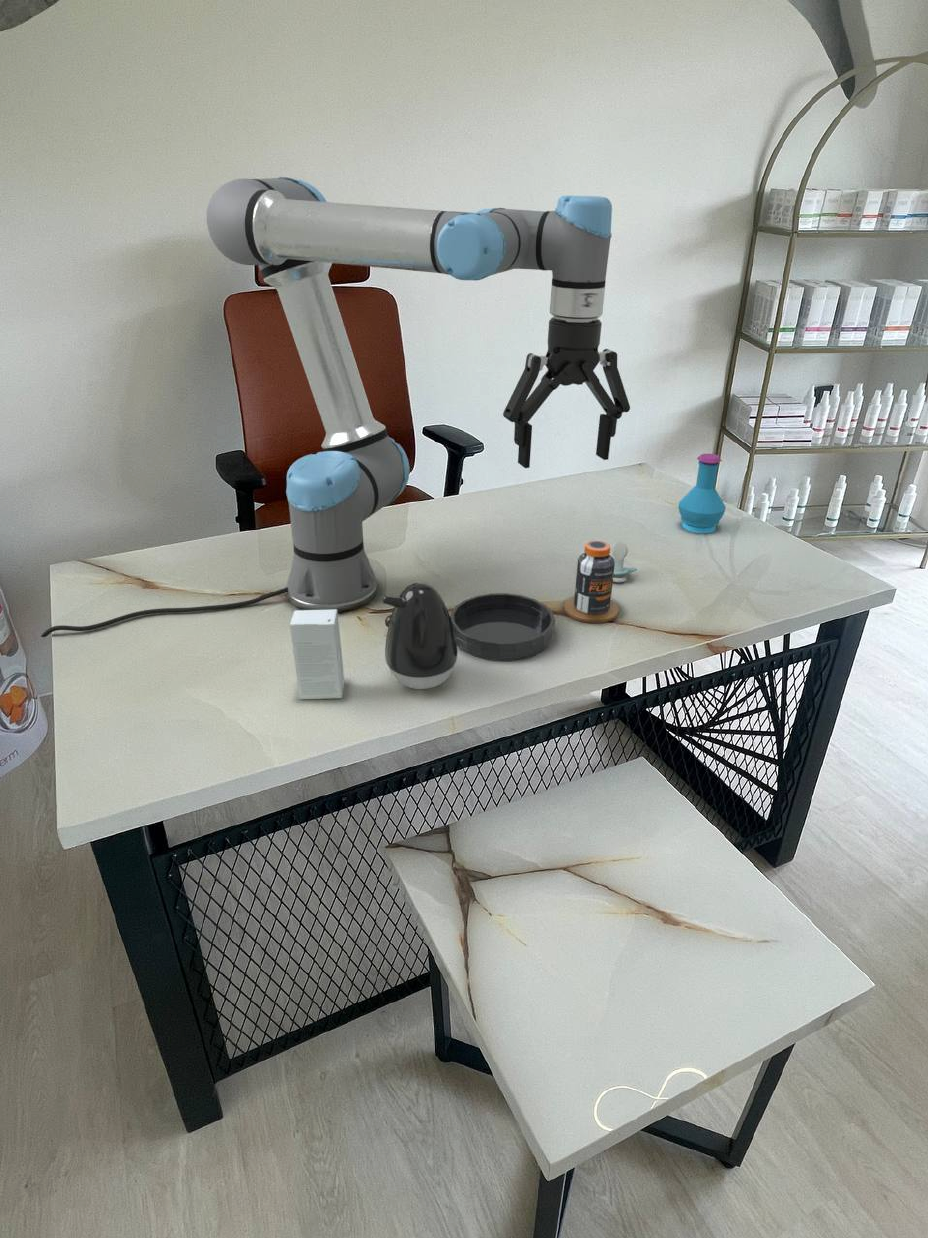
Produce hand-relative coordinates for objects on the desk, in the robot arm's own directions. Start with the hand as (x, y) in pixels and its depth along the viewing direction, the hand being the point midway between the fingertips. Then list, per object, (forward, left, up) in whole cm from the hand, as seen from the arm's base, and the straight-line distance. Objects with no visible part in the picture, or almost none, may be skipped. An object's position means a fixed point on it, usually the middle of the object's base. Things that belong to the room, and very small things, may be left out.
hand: (563, 461), depth 125 cm
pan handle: (-25, -3, -23) cm, 34 cm away
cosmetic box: (-43, -14, -25) cm, 51 cm away
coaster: (+4, -6, -24) cm, 25 cm away
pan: (-13, -8, -24) cm, 29 cm away
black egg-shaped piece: (-29, -16, -25) cm, 41 cm away
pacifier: (+14, +4, -25) cm, 29 cm away
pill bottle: (+4, -6, -24) cm, 25 cm away
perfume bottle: (+42, +18, -25) cm, 52 cm away
